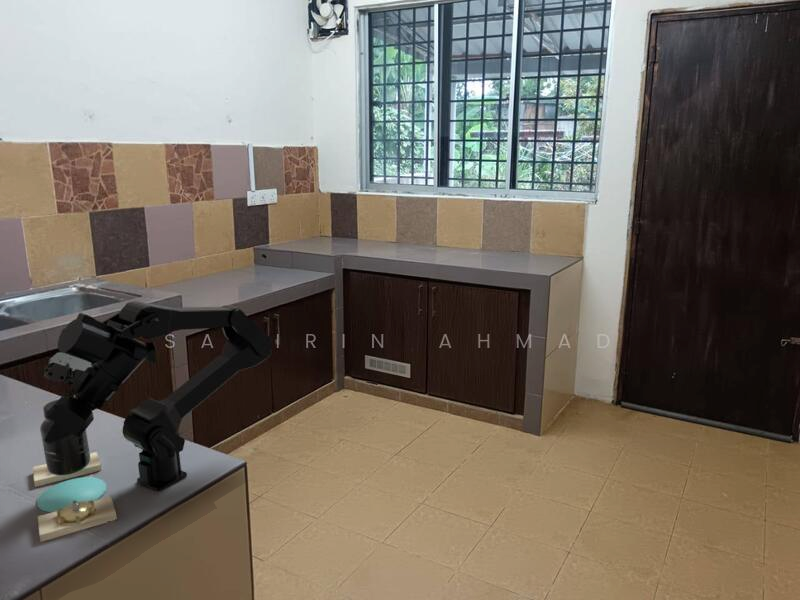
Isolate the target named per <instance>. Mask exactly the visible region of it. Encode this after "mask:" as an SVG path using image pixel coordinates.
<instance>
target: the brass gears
mask: <svg viewBox="0 0 800 600" xmlns="http://www.w3.org/2000/svg"><path fill="white" fill-rule="evenodd" d="M72 502H73V503H72V504H70V505H68V506H66V507H64V508H63V509H58V510H57V516H61V517H60V518H58V523H59V524H60V525H62V524H64V523H75V522H76V523H77V524H80V523H81V521H82V520H84V519H86V518H88V517H89V516H90V515H95V514H96V508H92V507H93V506H94V501H93V500H90V501H88V502H77V501H76V500H75V501H72Z"/></svg>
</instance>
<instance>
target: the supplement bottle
mask: <svg viewBox="0 0 800 600" xmlns="http://www.w3.org/2000/svg"><path fill="white" fill-rule="evenodd" d="M58 400H59V399H54V400H52V401H50V402H47V403H46V404H45V405H44V406H43V408H42V409H43V417H44V420H43V421H42V423H40V426H39V429H40V430H39V431H40V437H41V441H42V447H43V452H44V459H45V464H47V468H48V471H49V472H50V473H52V474H54V475H69V474H73V473H76V472H78V471H80V470H82V469H84V468H85V467H86V466H87V465H88V464H89V462H90V453H91V452H90V446H89V439H88V435H87V429H86V430H85V431H84V432H83V433H82V434H81V435H80V436H75V435H73V434H72V435H70V436H67V437H65V438H62V439H60V440H58V441H55V442H53V443H50V444H48V443H47V442H45V441H44V439H45V437H46V435H47V433H48V431H49V429H50V428H51V426H52V424H53V422H54V421H53V420H51V419H50V418H48V417H47V415H46V413H47V412H48V411H49V409H50V408H51V407H52V406H53V405H54V404H55V403H56V402H57V401H58Z"/></svg>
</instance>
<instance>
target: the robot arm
mask: <svg viewBox="0 0 800 600" xmlns="http://www.w3.org/2000/svg"><path fill="white" fill-rule="evenodd" d="M219 328H220V329H221V330H222V333H223V335H224V337H225V338H226V339H227V340H226V342H225V344H224V346H223V349H222V352H221V353H220V354H219V355H218V356H217V357H216V358H214V359H213V360H212V361H211V362H209V363H208V364H207V365H205V366H204V367H203V368H201V370H199V371H198V372H197V373H195V374H194V375H193V376H192V377H190V378H189V379H188V380H187V381H185V382H184V383H182V384H181V386H179V387H178V388H176V389H175V390H174V391H173V392H172V393H170V394H169V395H168V396H166V398H164V399H161V400H155V399H153V398H151V397H147V398H146V399H144V400H143V401H142V402H141V403H139V405H138V406H136V407H135V408H133V409H130V410H129V413H130V414H129V415H128V416H126V418H125V419H124V421H123V425H122V435H123V437H124V439H125V440H126V441H128V442H130V443H132V444H133V445H134V447H135V448H139V449H140V450H141V451H140V452H139V453H138V456H139V457H138V459H139V462H138V463H137V466H138V474H139V476H138V478H136V482H137V483H139V484H141V485H143V486H145V487H148V488H151V489H153V490H154V491H158V492H159V491H162V490H164V489H165V488H167V487H169V486H171V485H172V484H174V483H176V482H178V481H180V480H182V479H184V478H185V477H187V476H188V472H187V471H184V470H182V467H181V466H182V464H181V455H180V454H181V453H180V452H183V450H184V447H185V442H186V439H185V438H184V437H182V436H179V434H177V433H178V431H179V428H180V425H181V423H182V420H183V419H184V418H185V417H186V416H187V415H188V414H189V413H191V412H192V411H193V410H194V409H195V408H196V407H198V406H199V405H200V404H201V403H203V402H204V401H205V400H206V399H207V398H209V397H210V396H211V395H212V394H213V393H214V392H216V391H218V389H220V387H221V386H223V385H224V384H225V383H227V382H228V381H229V380H230V379H231V378H233V377H234V376H235V375H236V374H237V373H238V372H240V371H243V370H244V371H245V370H247V369H250V368H253V367H256V366H258V365H259V364H261V363H263V362H264V361H266V360H267V359H268V358H269V357H270V356H271V354H272V348H273V342H272V341H273V340H272V338H271V337H270V335H268V334H266V333H264V331H263V330H262V329H261V328H260V327H259V326H257V325H256V324H255V323H254V322H253V321H252V320H251V319H250V318H249V317H248V316H247V315H246V313H245V312H244V311H243V310H242V309H241V308H238V307H234V306H230V305H226V304H225V305H222V306H197V307H196V306H195V307H193V306H192V307H189V306H188V307H184V306H183V307H170V306H163V305H158V304H154V303H149V302H142V301H135V300H134V301H128V302H127V303H125V304H124V306H123V307H122V308H121V310H120V311H118V312H116V314H114V315H112V316H110V317H108V318H106V319H104V320H103V321H99V320H97V319H96V318H94V317H93V316H91V315H88V314H86V313H82V312H80V313H78V314H77V317H76V319H73V320H71V321H70V322H69V323H68V324H67V325H66V326H65V328H62V330H61V332H60V334H59V336H58V341H57V349H58V351H59V352H56V353H55V354H54V355H53V356H52V357H51V358H49V360H48V363H47V365H46V367H44V368H43V372H44V375H43V377H44V378H46V379H47V380H51V381H53V382H55V383H56V382H57V383H59V384H62V383H64V384H66V385H70V387H68V390H70V392H72V393H73V394H74V395H73V397H72V396H70V395H68V396H65V395H64V396H61V397H60V398H59V399H57V400H58V401H57V402H56V403H55V404H54V405H53V406H52V407H51V408H50V409H49V411H48V412H47V413H46V415H47V417H48V418H50V419H51V420H53V421H54V422H53V424H52V426H51V428H50V429H49V431H48V433H47V435H46V437H45V439H44V441H45V442H47V443H48V444H50V443H53V442H55V441H58V440H60V439H62V438H65V437H67V436H70V435H72V434H73V435H75V436H80V435H81V434H82V433H83V432H84V431H85V430H86V431H87V429H88V428H89V426H90V425H91V424H92V422H94V418H95V417H94V412H93V411H95V410H97V409H98V410H101V409H102V407H104V405H105V404H106V403H107V402H108V400H109V399H110V398H111V397H112V396H113V395H114V394H115V393H116V392H117V391H118V390H119V389H120V388H121V387H122V385H123V384H124V383H125V382H126V381H127V379H128V378H129V377H130V376H131V375H132V374H133V373H134V372H135V371H136V370H137V369H138V367H139V366H140V365H141V364H142V363H143V362H144V361H147V362H150V363H152V364H156V363H158V358H157V346H156V345H155V343H154V341H150V342H144V341H140V340H138V338H142V339H147V340H153V339H156V338H161V337H164V336H169V335H170V334H172V333H175V332H177V331H181V330H182V331H184V330H185V331H186V330H202V329H204V330H205V329H206V330H207V329H219ZM121 336H122V337H121Z"/></svg>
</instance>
